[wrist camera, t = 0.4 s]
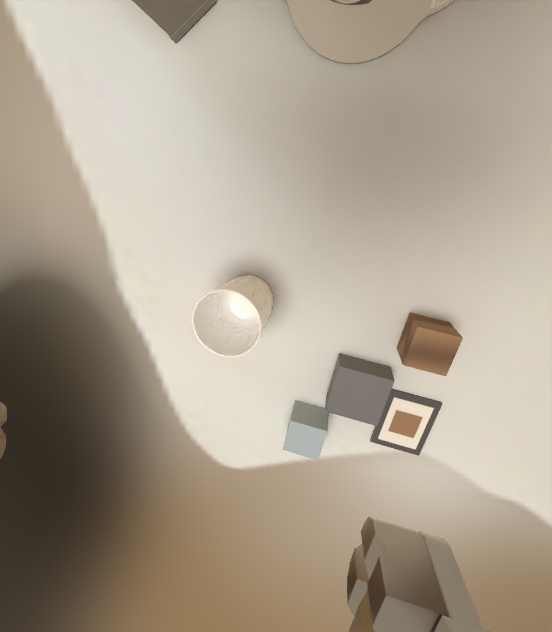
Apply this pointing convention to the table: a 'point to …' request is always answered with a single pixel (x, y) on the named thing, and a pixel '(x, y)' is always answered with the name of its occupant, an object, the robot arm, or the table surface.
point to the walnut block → (428, 344)
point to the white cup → (233, 316)
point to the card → (405, 422)
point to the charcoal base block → (359, 389)
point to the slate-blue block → (306, 430)
